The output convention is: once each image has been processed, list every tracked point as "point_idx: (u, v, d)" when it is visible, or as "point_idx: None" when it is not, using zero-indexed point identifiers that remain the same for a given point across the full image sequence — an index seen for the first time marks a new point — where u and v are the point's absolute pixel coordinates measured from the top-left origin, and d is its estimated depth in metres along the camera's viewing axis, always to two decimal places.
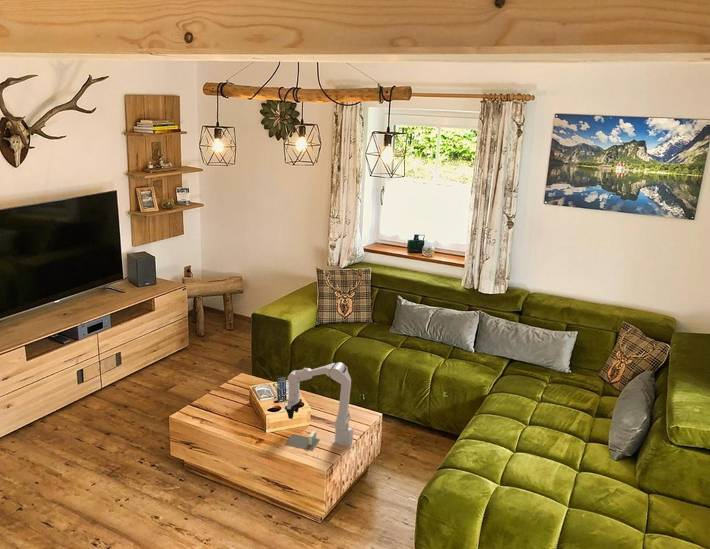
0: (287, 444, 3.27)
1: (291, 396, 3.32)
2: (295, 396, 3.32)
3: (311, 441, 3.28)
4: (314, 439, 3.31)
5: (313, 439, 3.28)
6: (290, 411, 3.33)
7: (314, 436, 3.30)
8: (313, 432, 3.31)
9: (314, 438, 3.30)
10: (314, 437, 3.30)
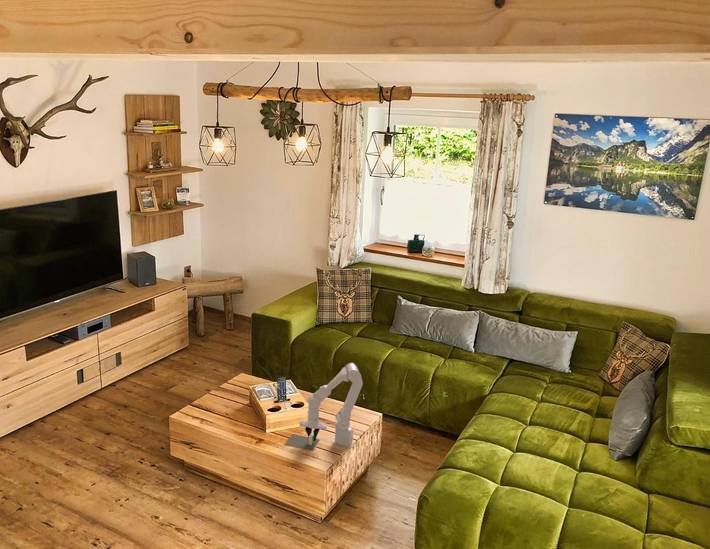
0: (287, 444, 3.27)
1: None
2: (308, 419, 3.26)
3: (311, 441, 3.28)
4: None
5: (313, 439, 3.28)
6: None
7: None
8: None
9: None
10: None
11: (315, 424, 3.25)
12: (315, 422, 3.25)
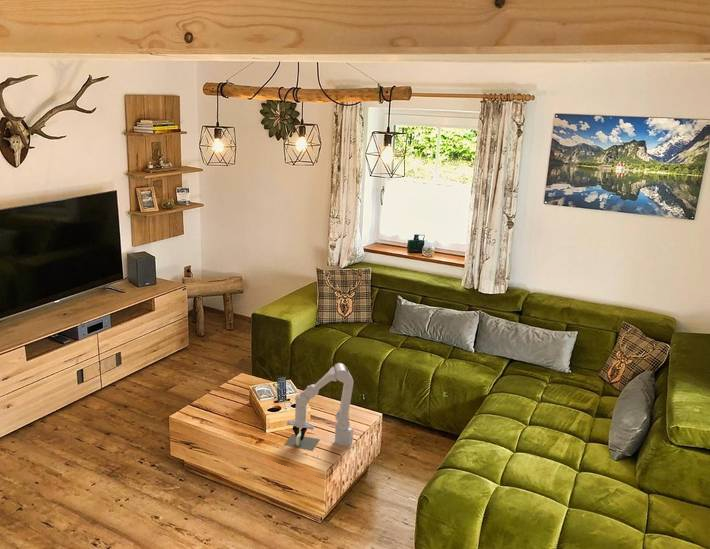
0: (287, 444, 3.27)
1: None
2: (295, 418, 3.25)
3: (298, 442, 3.26)
4: (301, 440, 3.29)
5: (300, 440, 3.27)
6: None
7: None
8: (300, 433, 3.30)
9: None
10: None
11: (302, 423, 3.24)
12: (302, 421, 3.24)
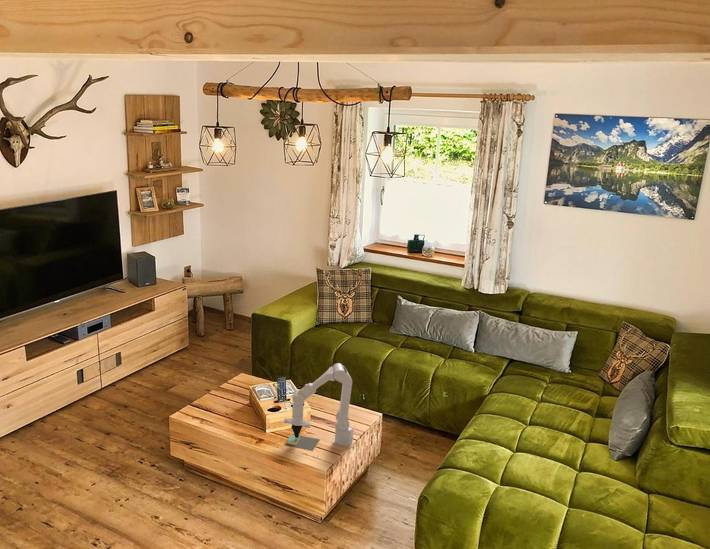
0: (287, 444, 3.27)
1: None
2: (292, 416, 3.25)
3: (292, 441, 3.27)
4: (295, 438, 3.30)
5: (291, 439, 3.29)
6: None
7: (291, 437, 3.30)
8: None
9: (293, 438, 3.30)
10: (293, 437, 3.30)
11: (299, 421, 3.24)
12: (299, 419, 3.24)
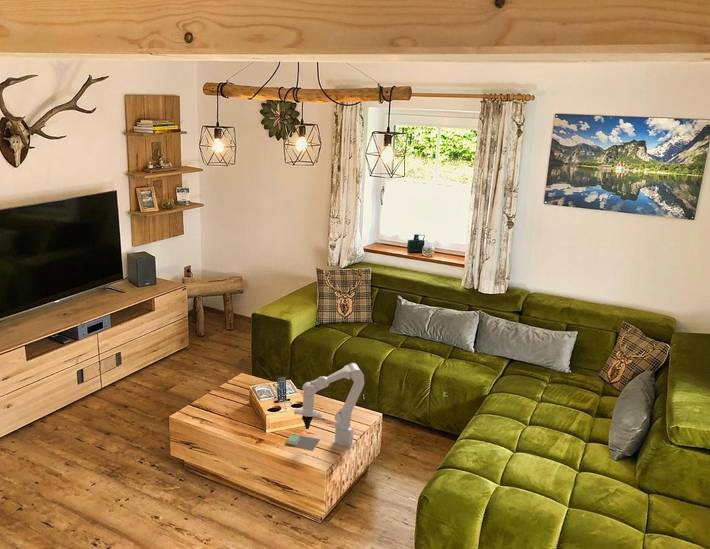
0: (287, 444, 3.27)
1: None
2: (303, 407, 3.21)
3: (292, 441, 3.27)
4: (295, 438, 3.30)
5: (291, 439, 3.29)
6: None
7: (291, 437, 3.30)
8: None
9: (293, 438, 3.30)
10: (293, 437, 3.30)
11: (310, 412, 3.21)
12: (310, 410, 3.21)
